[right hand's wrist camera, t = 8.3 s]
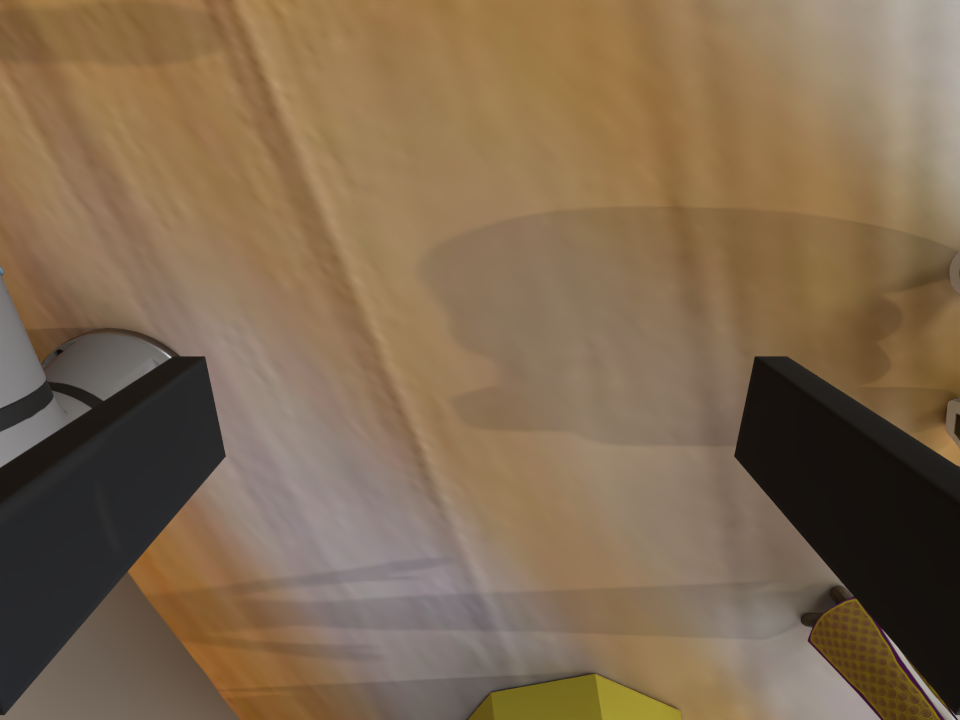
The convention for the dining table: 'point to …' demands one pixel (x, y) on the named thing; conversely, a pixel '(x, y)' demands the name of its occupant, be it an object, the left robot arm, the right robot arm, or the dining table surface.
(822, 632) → the figurine
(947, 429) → the cutout
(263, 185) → the dining table surface
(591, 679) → the crown
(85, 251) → the dining table surface
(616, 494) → the dining table surface
